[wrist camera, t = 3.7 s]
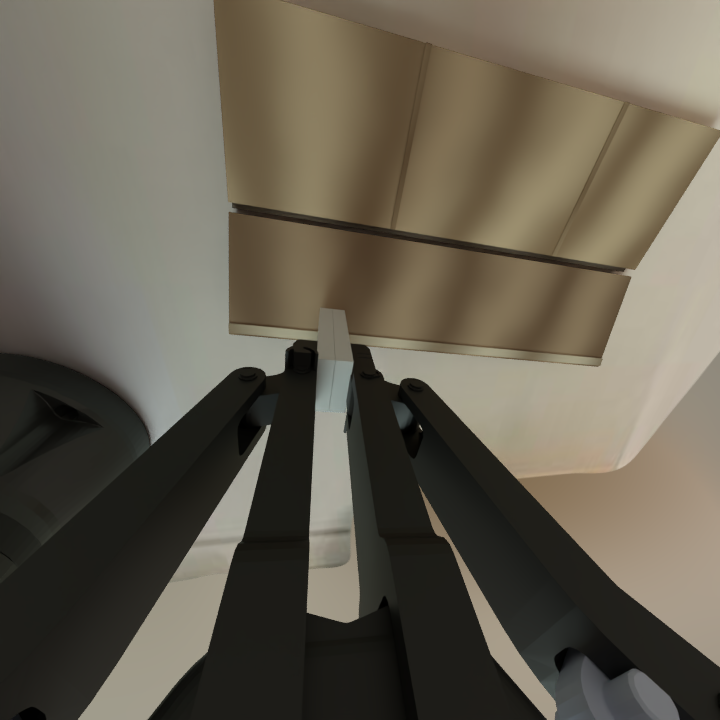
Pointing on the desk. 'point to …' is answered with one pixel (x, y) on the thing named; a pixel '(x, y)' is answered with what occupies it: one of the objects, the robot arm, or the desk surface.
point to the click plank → (415, 294)
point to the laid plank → (439, 142)
